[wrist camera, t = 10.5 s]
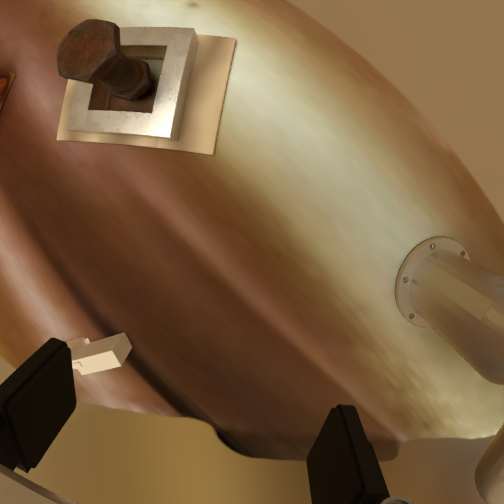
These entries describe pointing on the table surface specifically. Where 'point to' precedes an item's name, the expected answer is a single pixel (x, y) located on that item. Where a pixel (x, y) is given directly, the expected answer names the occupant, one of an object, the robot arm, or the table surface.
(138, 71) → the bolt
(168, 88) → the steel socket collar
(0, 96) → the candy box
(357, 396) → the table surface
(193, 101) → the beech board
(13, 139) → the table surface
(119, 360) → the beige stepped block
